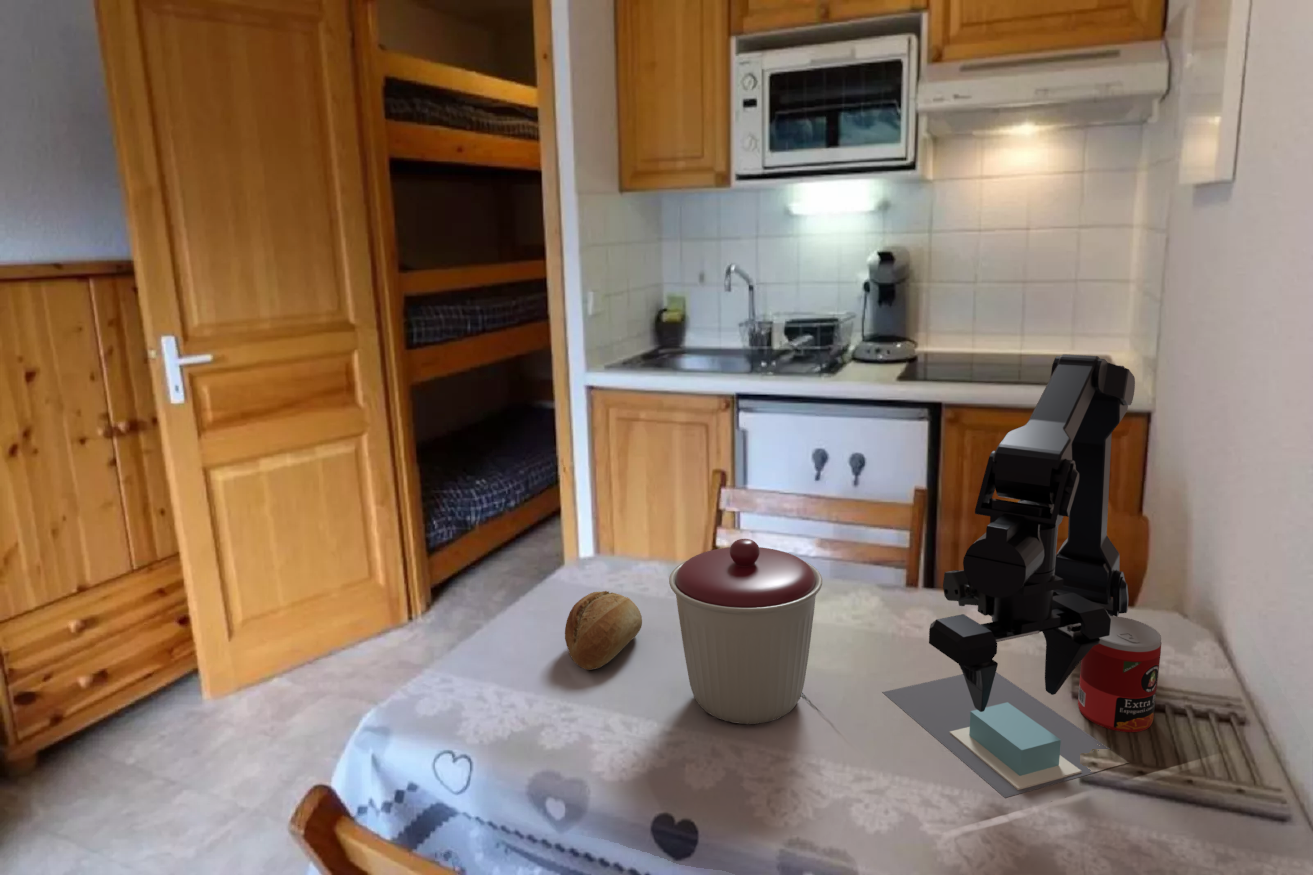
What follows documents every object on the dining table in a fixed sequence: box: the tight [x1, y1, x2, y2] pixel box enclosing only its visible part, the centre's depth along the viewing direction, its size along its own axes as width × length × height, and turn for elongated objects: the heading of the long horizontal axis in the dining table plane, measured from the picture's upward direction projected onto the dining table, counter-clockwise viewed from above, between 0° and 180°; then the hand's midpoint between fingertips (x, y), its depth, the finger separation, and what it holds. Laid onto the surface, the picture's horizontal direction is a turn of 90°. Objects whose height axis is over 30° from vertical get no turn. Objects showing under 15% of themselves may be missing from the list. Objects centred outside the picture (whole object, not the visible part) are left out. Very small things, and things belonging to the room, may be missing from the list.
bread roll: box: [564, 590, 643, 671], centre depth 120 cm, size 10×15×8 cm, turn 161°
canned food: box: [1077, 616, 1162, 733], centre depth 99 cm, size 8×8×11 cm
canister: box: [668, 538, 823, 725], centre depth 104 cm, size 18×18×21 cm
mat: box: [882, 671, 1123, 799], centre depth 99 cm, size 16×22×1 cm
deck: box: [969, 702, 1061, 776], centre depth 93 cm, size 8×5×3 cm, turn 19°
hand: (1015, 701), depth 92 cm, fingers open, 9 cm apart
